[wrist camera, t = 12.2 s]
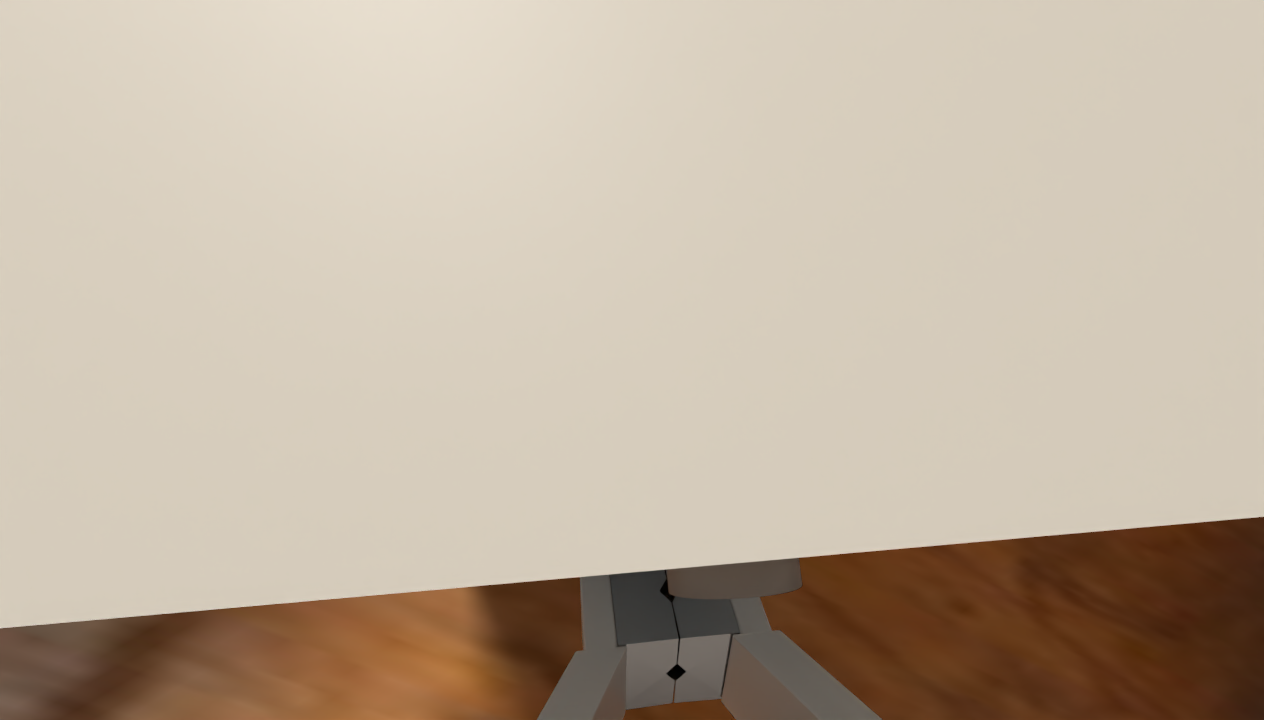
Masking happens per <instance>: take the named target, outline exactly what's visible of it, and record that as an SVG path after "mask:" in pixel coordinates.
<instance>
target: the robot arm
mask: <svg viewBox="0 0 1264 720" xmlns="http://www.w3.org/2000/svg"><path fill="white" fill-rule="evenodd" d="M580 595H581V623H582V645H583V650H581V651H576V652H575V654H574V655H573V657H572V659H571V661H570V662H569V664H568V666H567V668H566V669H565V671H564V673H563V675H562V676H561V678H560V680H559V682H558V683H557V685H556V687H555V689H554V690H553V692H552V694H551V696H550V697H549V699H548V701H547V703H546V704H545V706H544V708H543V710H542V711H541V713H540V715H539V717H538V718H537V720H623V718H624V715H625V710H628V709H635V708H642V707H648V706H655V705H662V704H669V703H672V701H673V700H674V703H678V702H690V701H701V700H713V699H722V700H721V702H722V703H723V704H724V705H725V707H726V708H727V709H728V710H729V712H730V713H731V714H732V715H733V716H734V718H735V719H736V720H882V719H881V718H880V717H879V716H878V715H877V714H875V713H874V712H873V711H872V710H871V709H870V708H869V707H867V706H866V705H865V704H864V703H863V702H862V701H861V700H859V699H858V698H857V697H856V696H855V695H854V694H853V693H851V692H850V691H849V690H848V689H847V688H846V687H845V686H843V685H842V684H841V683H840V682H839V681H838V680H837V679H835V678H834V677H833V676H832V675H831V674H830V673H829V672H827V671H826V670H825V669H824V668H823V667H822V666H821V665H819V664H818V663H817V662H816V661H815V660H814V659H813V658H811V657H810V656H809V655H808V654H807V653H806V652H805V651H803V650H802V649H801V648H800V647H799V646H798V645H797V644H795V643H794V642H793V641H792V640H791V639H790V638H788V637H787V636H786V635H785V634H784V633H783V632H782V631H780V630H774V631H772V629H771V626H770V624H769V621H768V618H767V616H766V613H765V610H764V607H763V605H762V602H761V599H760V597H753V598H740V599H691V598H683V597H677V596H673V595H671V594H669V591H668V578H667V569H665V570H654V571H643V572H631V573H620V574H609V575H597V576H586V577H580Z"/></svg>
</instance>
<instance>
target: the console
mask: <svg viewBox="0 0 1264 720" xmlns="http://www.w3.org/2000/svg"><path fill="white" fill-rule="evenodd" d="M1255 517H1264V0H0V628H8V627H19V626H31V625H42V624H53V623H65V622H76V621H87V620H99V619H110V618H121V617H133V616H144V615H155V614H167V613H178V612H189V611H201V610H212V609H223V608H235V607H246V606H257V605H269V604H280V603H291V602H303V601H314V600H325V599H337V598H348V597H359V596H371V595H382V594H393V593H405V592H416V591H427V590H439V589H450V588H461V587H473V586H484V585H495V584H507V583H518V582H529V581H541V580H552V579H563V578H575V577H586V576H597V575H609V574H620V573H631V572H643V571H654V570H665V569H667V578H668V591H669V594H671V595H673V596H677V597H683V598H691V599H740V598H753V597H763V596H770V595H777V594H782V593H787V592H791V591H794V590H797V589H799V588H801V587H802V579H801V571H800V564H799V558H801V557H813V556H824V555H835V554H847V553H858V552H869V551H881V550H892V549H903V548H915V547H926V546H937V545H949V544H960V543H971V542H983V541H994V540H1005V539H1017V538H1028V537H1039V536H1051V535H1062V534H1073V533H1085V532H1096V531H1107V530H1119V529H1130V528H1141V527H1153V526H1164V525H1175V524H1187V523H1198V522H1209V521H1221V520H1232V519H1243V518H1255Z"/></svg>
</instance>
